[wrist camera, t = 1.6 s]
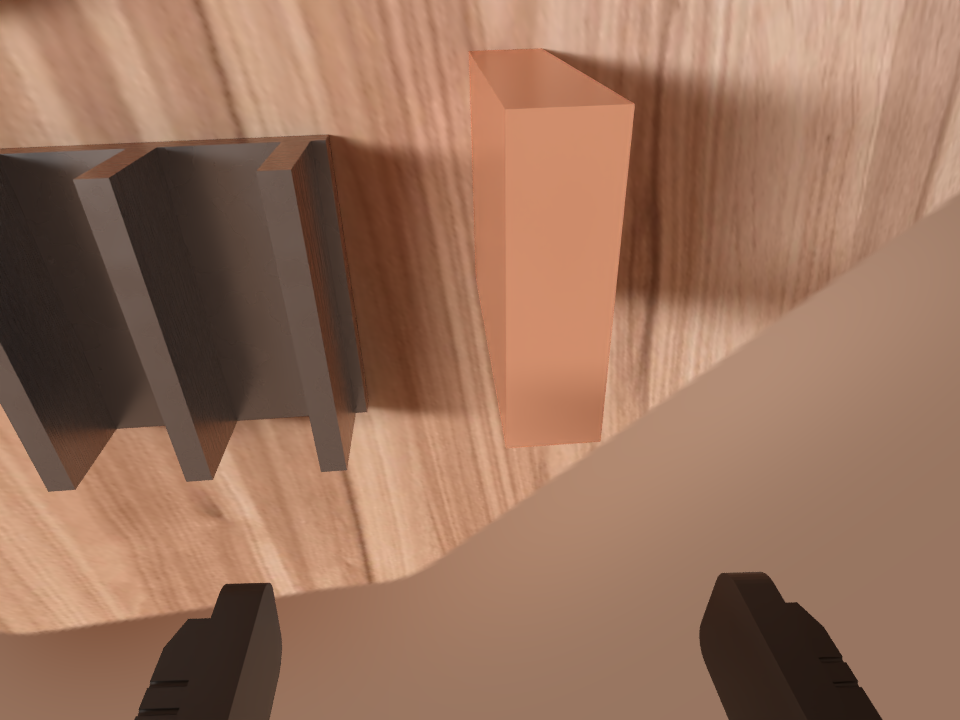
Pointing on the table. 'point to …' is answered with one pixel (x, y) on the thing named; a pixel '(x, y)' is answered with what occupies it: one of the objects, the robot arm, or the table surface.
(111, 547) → the table surface
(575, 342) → the tall salmon slab
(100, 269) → the dish rack
